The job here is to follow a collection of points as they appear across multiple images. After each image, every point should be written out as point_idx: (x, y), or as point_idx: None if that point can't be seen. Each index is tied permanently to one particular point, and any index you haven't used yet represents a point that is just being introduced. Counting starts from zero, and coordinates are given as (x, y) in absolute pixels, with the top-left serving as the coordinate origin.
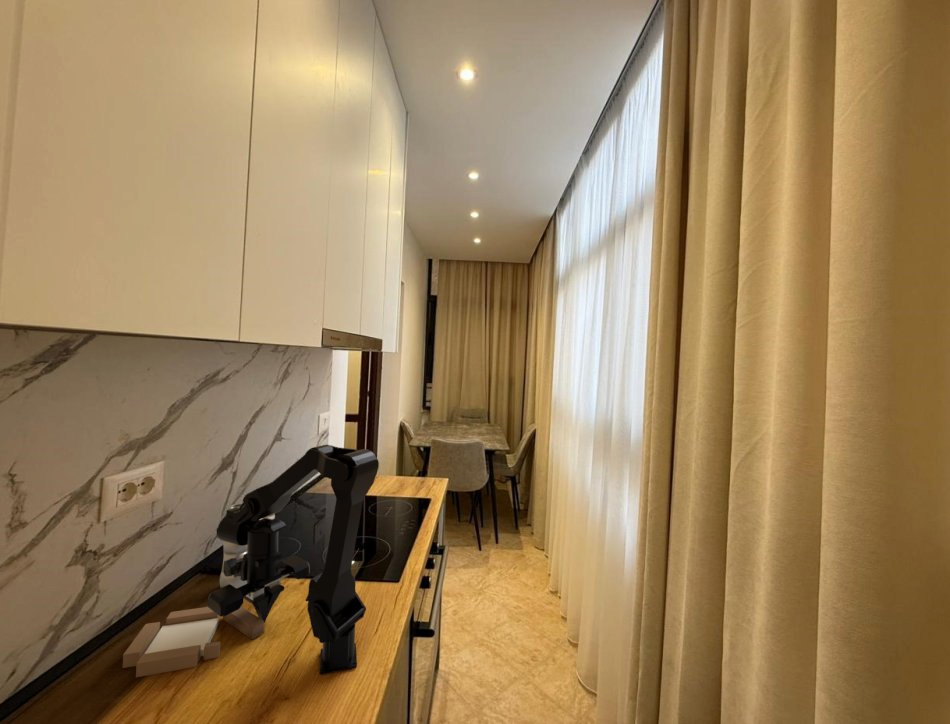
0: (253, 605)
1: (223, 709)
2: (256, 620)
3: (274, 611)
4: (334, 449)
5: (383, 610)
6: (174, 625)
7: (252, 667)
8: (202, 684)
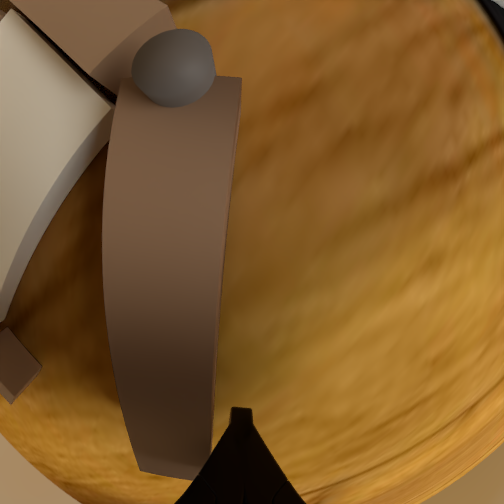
0: (184, 492)
1: (43, 470)
2: (182, 459)
3: (386, 320)
4: None
5: (424, 492)
6: (15, 26)
7: (108, 474)
8: (6, 405)
